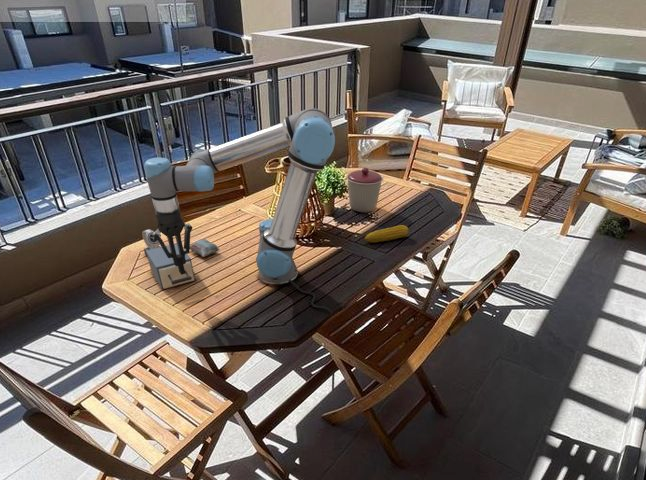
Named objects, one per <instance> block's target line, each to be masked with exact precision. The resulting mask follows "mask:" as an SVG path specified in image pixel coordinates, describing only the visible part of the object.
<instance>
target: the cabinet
mask: <svg viewBox="0 0 646 480" xmlns="http://www.w3.org/2000/svg"><path fill="white" fill-rule="evenodd" d="M165 246H166V248H167V249H168V251H169V253H171V251H170V247H169V244H168V245H165ZM174 246H175V250H176V254H180V253H179V250H178V246H177V242H176V243H175V242H174ZM146 253H147V256H146V257H147V260H148V264H149V268H150V272H151V274H152V275H153V277H154V280H156V283H157V284H158V286H159V287H160V289H161V290H165V289H170V288H173V287H176V286H180V285H181V284H179V285H175V286H172V287H168V288H165V289H164V288H163V285H162V281H161V277H160V273H159V269H160V268H164V267H167V266H171V265H175V264H174V262H173V258H168V257H167V255H166V254H165V252H164V250H163V249H162V247H161V246H160V247H159V248H154V249H150V250H146ZM185 260H186V262H188V261H190V262H191V266H192V271H193V276H194V280H193V281H190V282H189V283H191V282H194V281H196V277H195V273H194V267H193V262H192V258H191V257H190V255H189V253H187V254H185ZM183 284H184V285H185V284H188V282H186V283H183ZM183 284H182V285H183Z"/></svg>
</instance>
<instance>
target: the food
mask: <svg viewBox="0 0 646 480" xmlns="http://www.w3.org/2000/svg"><path fill="white" fill-rule="evenodd" d="M408 234H409V227H408V226H407V225H404V224H399V225H395V226H391V227H386V228H382V229H377V230H374V231H371V232H369V233H367V234H366V236H364V240H365V241H366V242H367V243H371V244H375V243H381V242H388V241H393V240H397V239H402V238H405V237H407V236H408Z"/></svg>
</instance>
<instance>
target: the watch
mask: <svg viewBox="0 0 646 480" xmlns="http://www.w3.org/2000/svg"><path fill="white" fill-rule="evenodd" d="M152 232H155V231H154V230H152V229H151V228H150V229H145V230H143V231H142V239H143V241H144V244H145V245H146V247H145V248H143V252H144V255H145V257H147V253H146V250H150V249H154V248H159V247H161V245H160V243H159V242H158V240H157V239H156V238H154V236H153V235H152Z"/></svg>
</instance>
